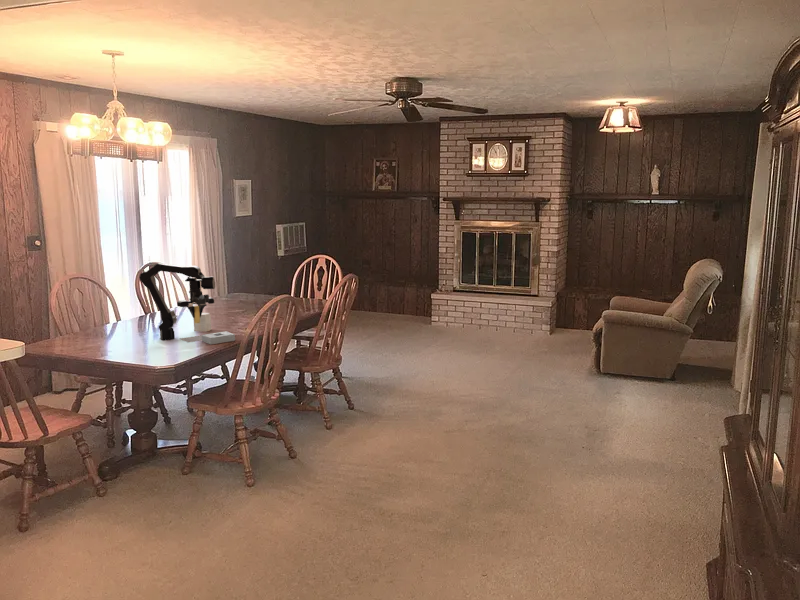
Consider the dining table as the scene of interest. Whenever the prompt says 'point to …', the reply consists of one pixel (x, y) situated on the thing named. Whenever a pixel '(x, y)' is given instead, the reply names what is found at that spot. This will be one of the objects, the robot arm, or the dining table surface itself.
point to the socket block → (218, 337)
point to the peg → (196, 314)
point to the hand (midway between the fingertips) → (196, 317)
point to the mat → (192, 338)
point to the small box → (203, 323)
